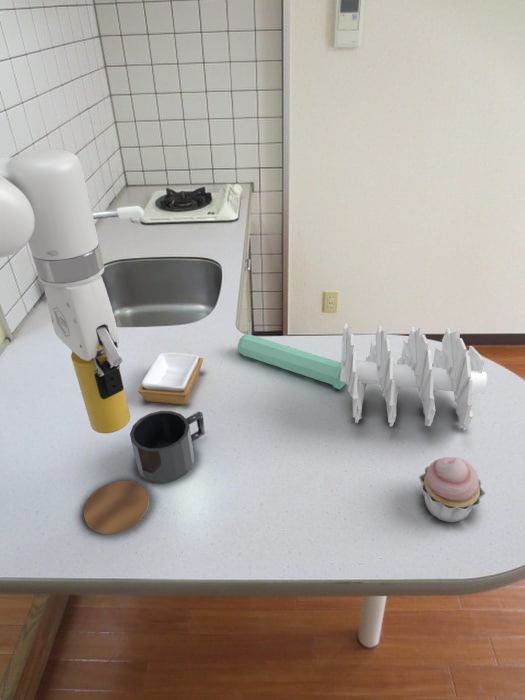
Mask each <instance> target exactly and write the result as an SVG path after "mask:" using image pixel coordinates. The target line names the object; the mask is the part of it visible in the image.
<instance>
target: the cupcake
mask: <svg viewBox="0 0 525 700" xmlns="http://www.w3.org/2000/svg"><path fill="white" fill-rule="evenodd" d="M418 478H419V480H420V483H421V489H420V490H421V492H422V493H423V496H424V497H423V498H424V504H425V506H426V508H427V510H428V511H429V513H430V514H431V516H433V517H435V518H436V519H438V520H440V521H443V522H447V523H457V522H460V521H463V520H464V519H466V518H467V517H468V515H469V514H470V513H471V511H472V510H473V509H475V508H477V507H479V506H480V505H481V499H482V498H483V497H484V496H485V495H486V491H485V490H484V489H483V488H482V485H483V482H482V480H480V479H481V478H479V474H478V472H477V470H476V469H475V467H474V466H473V465H472V464H471V463H470V462H469V461H467V460H465V459H463V458H460V457H453V456H452V457H451V456H446V457H441V458H438V459H436V460H434V461H433V462H431V463H430V464H429V465H427V466H425V467H424V473H422V474H420V475H419V476H418Z"/></svg>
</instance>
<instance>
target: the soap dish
mask: <svg viewBox="0 0 525 700" xmlns="http://www.w3.org/2000/svg"><path fill="white" fill-rule="evenodd" d="M203 360H204V358H203V357H200V356H199V355H198V354H195V353H194V354H192V353H181V352H171V351H170V352H168V351H167V352H166V351H165V352H164V351H163V352H160V353H159V354H158V355H157V356H156V358H155V360H154V362H153V363H152V365H151V366H150V367H149V369H148V371H147V373H146V374H145V376H144V378H143V379H142V381H141V385H140V386H139V388H138V390H137V392H138V393H139V394H140V396H141V397H142V398H143V399H144V400H145V401H146V402H152V403H162V404H173V405H186V402H187V401H188V398H189V396H190V394H191V392H192V389H193V388H194V386H195V383H196V381H197V379H198V377H199V374H200V372H201V368H202V365H203V362H204V361H203Z"/></svg>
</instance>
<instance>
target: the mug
mask: <svg viewBox="0 0 525 700" xmlns="http://www.w3.org/2000/svg"><path fill="white" fill-rule="evenodd" d="M195 422H196V426H197V430H196V431H195V432H193V433H192V432H191V428H190V425H191V424H193V423H195ZM191 433H192V434H191ZM205 434H206V430H205V422H204V415H203V412H202V411H196V412H195V413H193V414H191V415H189V416H188V417H185V416H184V415H182V414H181V413H179V412H176V411H172V410H159V411H153V412H150V413H147V414H146V415H144V416H142V417H140V418H139V419H138V420H137V421H136V422H135V423H134V424H133V425H132V427H131V429H130V432H129V437H130V442H131V443H130V444H131V446H132V450H133V455H134V460H135V462H136V467H137V470H138V473H139V475H140V476H141V477H142V478H143V479H144V480H146V481H148V482H151V483H155V484H168V483H172V482H175V481H178V480H180V479H182V478H183V477H184V476H186V475H188V473H189V472H190V471H191V469H192V467H193V466H194V462H195V454H194V447H193V446H194V445H193V442H195V441H196V440H198V439H200V438H202V437H203V436H205Z"/></svg>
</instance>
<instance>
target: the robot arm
mask: <svg viewBox="0 0 525 700" xmlns="http://www.w3.org/2000/svg"><path fill="white" fill-rule="evenodd" d="M87 187H88V186H87V183H86V178H85V174H84V170H83V166H82V162H81V160H80V159H79V157H78V156H76V154H75V153H73V152H72V151H68V150H67V149H66V150H65V149H60V148H46V149H37V150H32V151H26V152H23V153H20V154H18V155H16V156H12V157H0V259H3V258H6V257H9V256H12V255H14V254H16V253H18V252H19V251H21V250H22V249H23V248H24V247H25V246H27V244H28V246H29V249H30V253H31V256H32V259H33V262H34V266H35V270H36V272H37V276H38V279H39V282H40V283H41V284H42V285H43V290H44V295H45V299H46V304H47V307H48V311H49V315H50V321H51V323H52V327H53V331H54V334H55V335H56V336H57V338H58V339H59V340H61V342H62V343H63V344H64V345H66V347H68V349H70V351H71V353H72V352H74V353H75V354H77V355H78V356H79V357H80V358H81V359H83V360H86V361H90V360H91V359H92V362H93V364H94V367H95V369H96V372H97V373H96V374H94V375H95V379H96V383H97V387H98V391H99V394H100V397H101V398H102V399H106V398H108V397H110V396H112V395H114V394H116V393H119V392H121V391H122V390H123V388H124V389H125V386H124V382H123V378H122V379H121V377H122V373H121V369H120V368H121V367H120V364H121V363H122V362H123V358H122V356H121V354H120V352H119V350H118V348H119V347H120V338H119V331H118V327H117V322H116V319H115V315H114V311H113V308H112V304H111V301H110V298H109V295H108V291H107V288H106V284H105V282H104V279H103V276H102V275H103V274H104V272H105V269H106V268H105V264H104V260H103V255H102V250H101V247H100V242H99V237H98V233H97V229H96V228H97V227H96V224H95V218H94V213H93V210H92V205H91V201H90V196H89V192H88V188H87ZM99 345H101V347H102V348H101V349H99V350H98V346H99ZM104 354H105V355H106V357H107V359H106V361H104V362H103V363H102V365H101V364H100V361H99V358H98V357H99V356H102V355H104ZM119 369H120V370H119ZM120 373H121V374H120ZM122 382H123V383H122ZM123 386H124V387H123Z"/></svg>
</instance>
